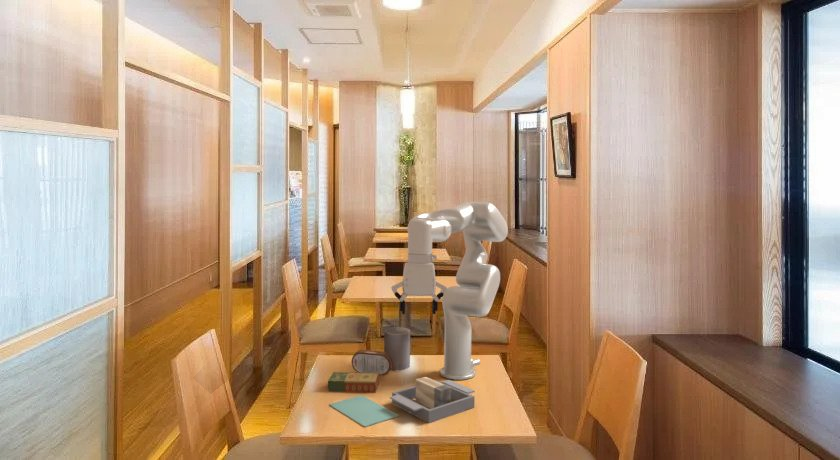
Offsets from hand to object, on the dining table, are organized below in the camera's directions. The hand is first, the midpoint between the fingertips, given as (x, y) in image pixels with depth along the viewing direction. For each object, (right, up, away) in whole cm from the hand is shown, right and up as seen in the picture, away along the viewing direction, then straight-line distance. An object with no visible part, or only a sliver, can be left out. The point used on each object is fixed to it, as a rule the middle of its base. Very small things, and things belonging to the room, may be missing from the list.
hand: (418, 313), depth 179 cm
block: (+4, -28, -2) cm, 28 cm away
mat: (-17, -28, -7) cm, 33 cm away
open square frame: (+4, -28, -2) cm, 28 cm away
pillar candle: (-8, -25, +34) cm, 43 cm away
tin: (-17, -26, +25) cm, 40 cm away
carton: (-22, -27, +12) cm, 37 cm away
